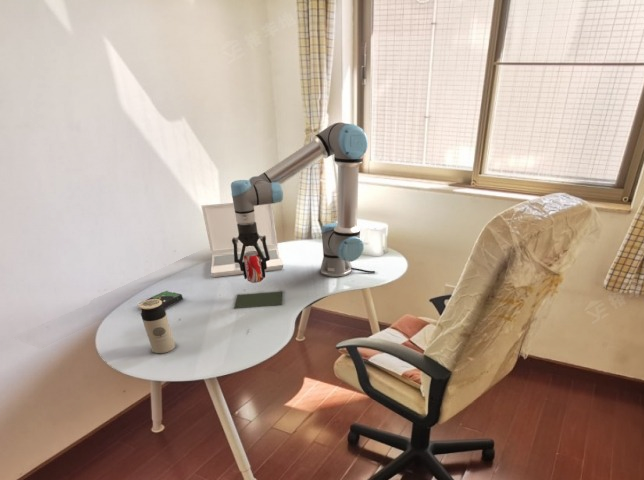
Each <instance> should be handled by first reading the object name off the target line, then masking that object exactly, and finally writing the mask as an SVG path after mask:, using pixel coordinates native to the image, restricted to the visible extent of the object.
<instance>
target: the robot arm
mask: <svg viewBox="0 0 644 480" xmlns="http://www.w3.org/2000/svg"><path fill="white" fill-rule="evenodd" d="M368 146H369V140H368V136H367V134H366V132H365V131H364V129H363V128H362V127H360V126H358V125H356V124H354V123H345V122H340V121H339V122H335V123H333V124H331V125H329V126H327V127H326V128H324V129H322V130H321V131H320V132H318V133H317V134H316V135H313V140H311V141H310V142H308V143H306V144H305V145H303V146H302V147H301V148H299V149H298V150H296V151H295V152H293V153H291V154H290V155H289V156H287V157H285V158H284V159H283V160H281V161H279V162H278V163H276V164H275V165H274V166H273V165H272V167H270V168H269V169H267V170H266V171H264V172H263V173H261V174H260V175H256V176H252V177H250V178H249V179H237V180H234V181H232V182H231V183H230V191H231V192H230V193H231V199H232V203H233V204H234V209H235V215H236V222H237V223H238V224H237V227H238V233H239V236H238V237H236V238H234V237H233V238H232V243H233V245H234V262H235V263H239V264H240V270H241V271H243V272H244V274H243V277H244V278H243V279H244V280H247V276H246V271H245V265H244V262H243V257H244V252H245V248H246V247H248V246H254V247H255V249H256V251H257V252H258V254H259V256H260V258H261V259H262V261H261V266H262V272H263V279H265V278H266V271H265V270H266V269H267V264H266V261H269V260H270V256H269V252H268V248H267V244H266V236H265V235H264V236H259V234H258V232H257V225H256V222H255V221H256V219H255V211H254V206H257V205H264V204H272V205H274V204H278V203H282V201H283V200H284V190H283V186H282V185H283V184H285V183H286V182H288V181H289V180H291V179H293V178H294V177H295V176H297V175H298V174H300V173H302V172H303V171H305V170H306V169H307V168H309V167H311V166H312V165H314V164H315V163H318V162H319V161H320V160H321V159H323V158H324V159H327V158H329V157H331V156H333V162H334V163H335V164H336V166H337V217H336V219H337V220H336V221H337V222H331V223H327V224H323V225H322V226H321V232H320V233H321V244H322V256H323V257H322V261H321V265H320V273H321V275H323V276H325V277H329V278H341V277H345V276H348V275H350V274H351V273H352V272H353V271H357V272H363V273H367V274H375V273H376V270H366V269H362V268H356V267H353V266H352V262H355V261H357V260H358V259H359V258H360V257H361V256H362V255H363V252H364V250H365V249H364V248H365V245H364V242H363V240H362V239H361V228H360V227H359V226H358V198H359V169H360V168H359V167H360V165H362V164H363V163H364V162H363V160H364V159H363V158H364V156H365V154H366V152H367V150H368ZM258 239H260V240H261V242H262V244H263V248H264V251H265V255H266V258H265V256H264V255H263V253H262V251H261V249H260V247H259V246H258V243H257V241H258ZM238 240H239V241H240V242H241V243H242V244H243V246H242V251H241V256H240V259H238V249H237V243H238Z"/></svg>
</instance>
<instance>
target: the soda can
mask: <svg viewBox="0 0 644 480" xmlns="http://www.w3.org/2000/svg"><path fill="white" fill-rule="evenodd" d="M244 255H245V256H244V265H245V271H246V276H247V279H246V280H247V282H250V283H252V284H256V283H257V284H258V283H260V282H262V281H263V280H264V278H263V272H262V266H261V258H260V256H259V254H258V252H257V251H248V252H246V253H245V254H244Z"/></svg>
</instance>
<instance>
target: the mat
mask: <svg viewBox="0 0 644 480" xmlns="http://www.w3.org/2000/svg"><path fill="white" fill-rule="evenodd" d="M282 305H283V291H271V292H270V291H269V292H258V293H244V294H237V295H236V300H235V303H234V307H233V309H245V308H258V307H259V308H261V307H271V306H273V307H274V306H282Z"/></svg>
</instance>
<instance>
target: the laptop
mask: <svg viewBox="0 0 644 480" xmlns="http://www.w3.org/2000/svg"><path fill="white" fill-rule="evenodd" d="M273 205H274V204H273V203H272V204H264V205H257V206H254V211H255V219H256V221H255V222H256V225H257V232H258V234H259V236H264V235H265V236H266V244H267V248H268V252H269V256H270V260H269V261H266V264H267V269H266V270H265V272H273V271H281V270H283V269H284V262H283V261H282V257H281V254H280V251H279V246H278V245H279V244H278V238H277V237H278V236H277V229H276V222H275V215H274V214H275V213H274V206H273ZM201 210H202V214H203V220H204V225H205V230H206V233H207V238H208V244H209V248H210V249H209V250H210V253H211V267H210V268H211V269H210V275H211V277H213V278H221V277H231V276H239V275H244V272H243V271H241V270H240V264H239V263H235V262H234V245H233V243H232V238H233V237H234V238H236V237H238V236H239V233H238V227H237V224H238V223H237V222H236V215H235V209H234V204H233V202H227V203H226V202H224V203H215V204H203V205H201ZM257 243H258V246H259V247H260V249H261V251H262V253H263V255H264V256H265V258H266V255H265V251H264V248H263V244H262V242H261V240H260V239H258V241H257ZM242 246H243V244H242V243H241V242H240V241H239V240H238V243H237V249H238V259H240V256H241V251H242ZM248 251H256V249H255V247H254V246H248V247H246V248H245V252H244V254H245V253H246V252H248ZM244 256H245V255H244ZM261 261H262V259H261ZM243 262H244V257H243Z"/></svg>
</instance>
